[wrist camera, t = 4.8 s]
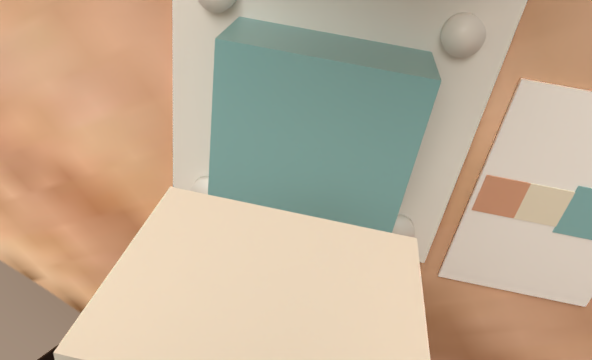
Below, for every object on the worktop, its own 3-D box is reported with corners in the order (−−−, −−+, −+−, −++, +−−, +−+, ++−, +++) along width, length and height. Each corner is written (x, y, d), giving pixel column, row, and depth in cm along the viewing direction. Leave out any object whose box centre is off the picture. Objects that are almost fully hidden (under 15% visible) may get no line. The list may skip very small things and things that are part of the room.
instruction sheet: (715, 113, 17) (719, 116, 17) (584, 304, 22) (585, 307, 22) (520, 77, 17) (522, 79, 17) (437, 274, 22) (438, 277, 22)
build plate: (526, -14, 16) (563, 9, 12) (423, 254, 22) (430, 312, 19) (178, -75, 16) (132, -66, 13) (177, 204, 23) (146, 252, 20)
